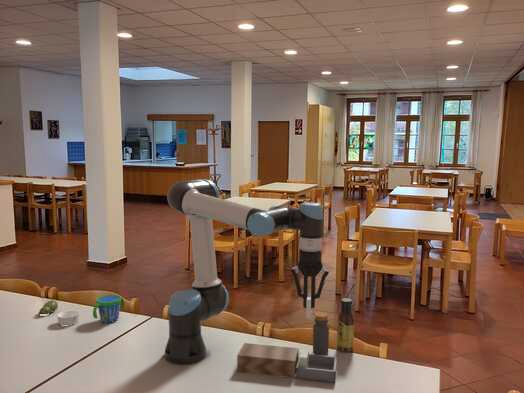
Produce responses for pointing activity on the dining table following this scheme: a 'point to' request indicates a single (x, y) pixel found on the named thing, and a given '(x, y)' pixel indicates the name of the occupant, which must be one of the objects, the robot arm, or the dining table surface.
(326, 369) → the box
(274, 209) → the robot arm
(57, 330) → the dining table surface
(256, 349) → the brown wooden block
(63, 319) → the ramekin
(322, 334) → the bottle
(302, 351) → the tile
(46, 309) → the pear
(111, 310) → the snack cup
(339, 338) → the sauce bottle
